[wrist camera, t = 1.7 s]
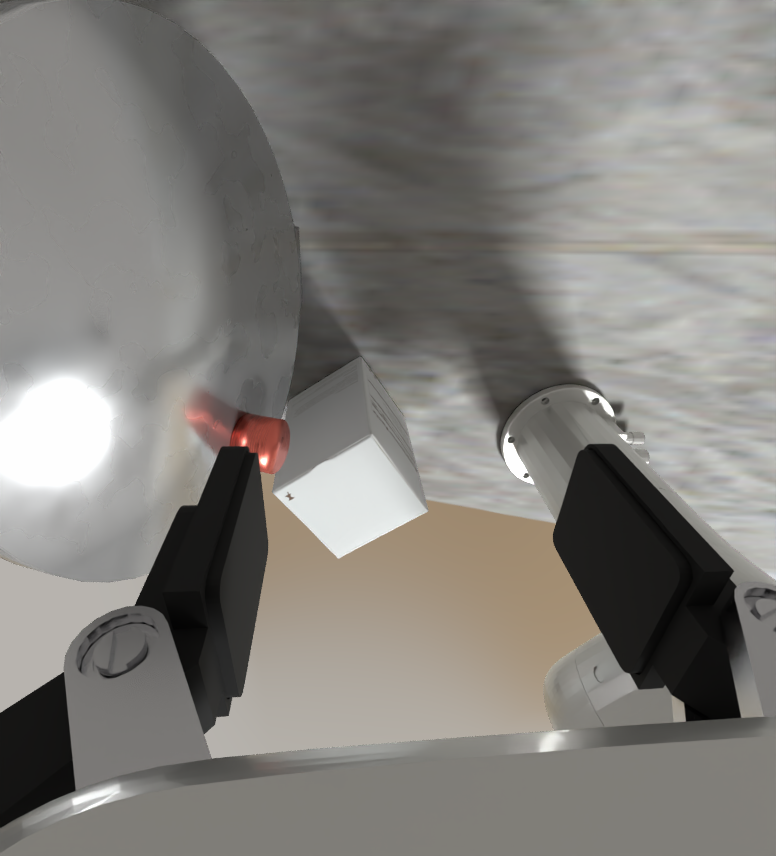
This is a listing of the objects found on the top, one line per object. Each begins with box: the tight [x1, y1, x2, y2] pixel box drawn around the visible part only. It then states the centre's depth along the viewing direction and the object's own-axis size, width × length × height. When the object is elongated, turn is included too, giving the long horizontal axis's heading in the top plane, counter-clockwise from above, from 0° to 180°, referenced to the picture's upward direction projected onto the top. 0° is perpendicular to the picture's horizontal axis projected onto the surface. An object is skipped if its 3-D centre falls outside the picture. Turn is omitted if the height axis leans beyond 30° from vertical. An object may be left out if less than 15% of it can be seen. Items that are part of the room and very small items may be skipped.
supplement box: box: [272, 357, 428, 558], centre depth 42 cm, size 9×9×15 cm
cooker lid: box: [0, 0, 300, 582], centre depth 19 cm, size 23×21×4 cm
